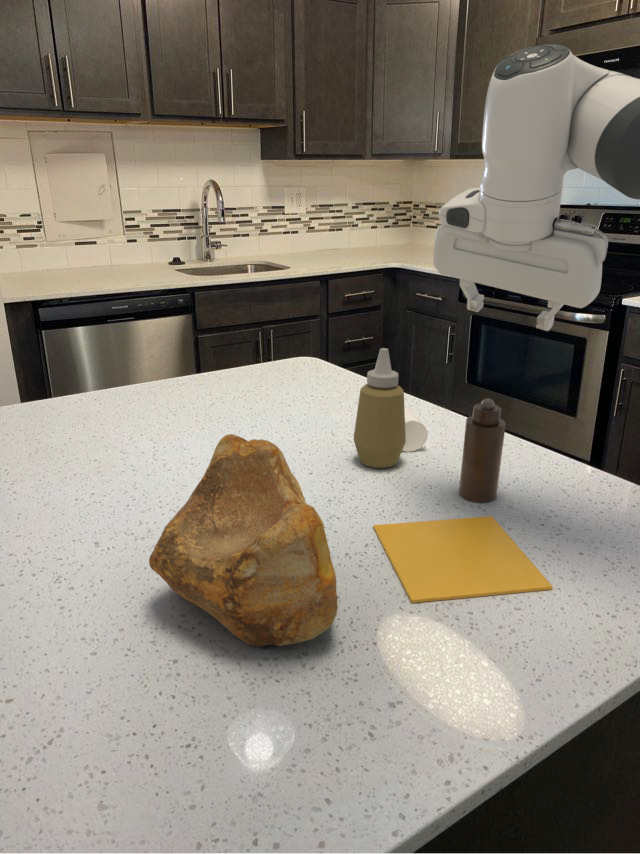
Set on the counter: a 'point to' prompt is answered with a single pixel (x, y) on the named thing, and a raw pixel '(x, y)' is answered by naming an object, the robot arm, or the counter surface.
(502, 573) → the yellow square plate
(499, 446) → the pepper mill
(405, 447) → the roll
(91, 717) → the counter surface
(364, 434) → the squeeze bottle
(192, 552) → the rough brown rock
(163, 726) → the counter surface
